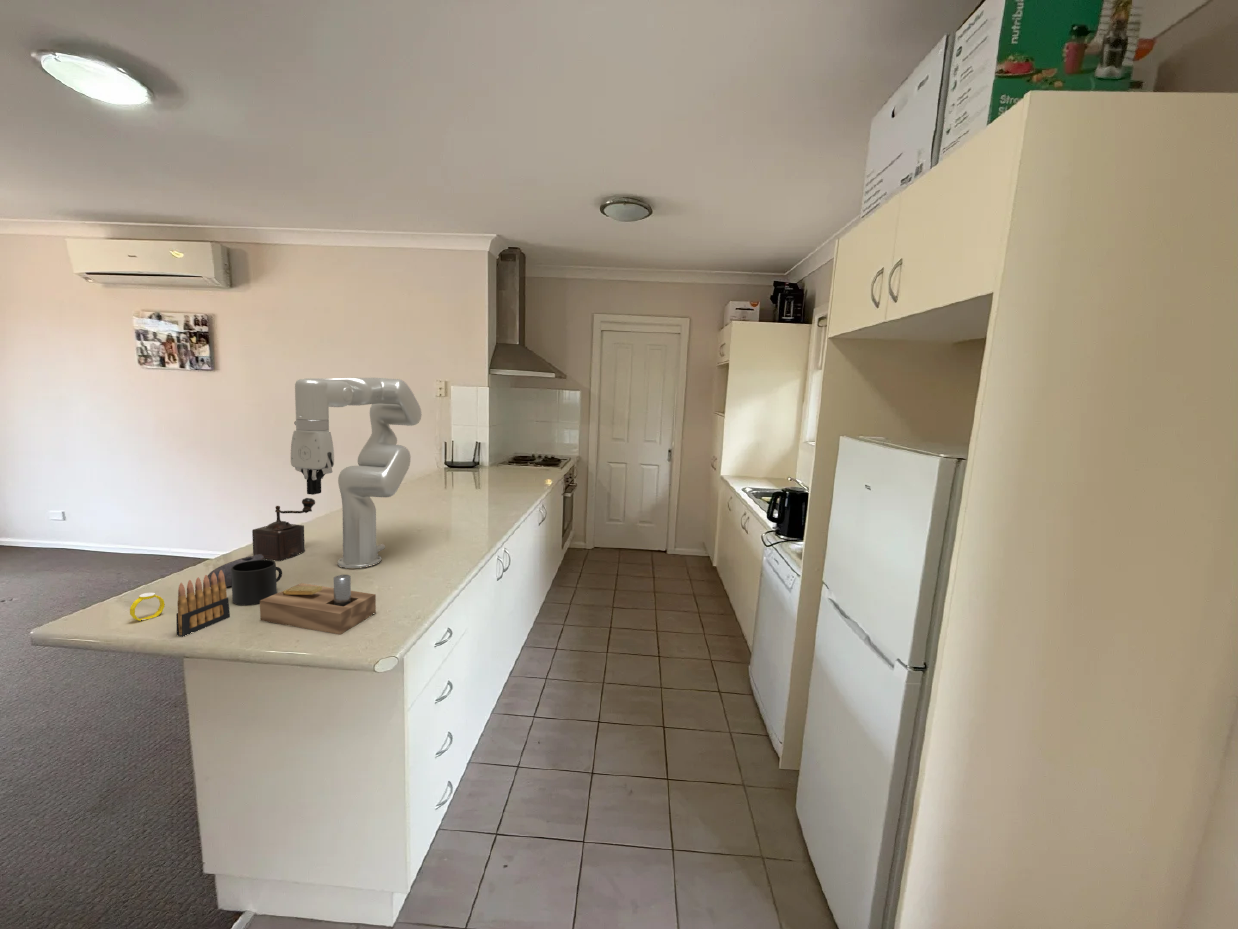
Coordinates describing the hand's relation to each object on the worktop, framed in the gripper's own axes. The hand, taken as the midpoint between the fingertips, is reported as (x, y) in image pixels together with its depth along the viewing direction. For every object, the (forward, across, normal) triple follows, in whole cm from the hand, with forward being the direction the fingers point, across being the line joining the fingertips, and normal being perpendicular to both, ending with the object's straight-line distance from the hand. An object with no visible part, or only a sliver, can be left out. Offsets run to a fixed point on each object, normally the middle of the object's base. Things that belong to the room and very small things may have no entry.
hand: (314, 493), depth 136 cm
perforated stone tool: (+27, -22, -4) cm, 35 cm away
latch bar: (+21, +9, -14) cm, 27 cm away
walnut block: (+27, +14, -14) cm, 34 cm away
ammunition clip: (+27, -6, -26) cm, 38 cm away
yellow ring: (+27, -21, -27) cm, 44 cm away
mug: (+27, -9, -9) cm, 30 cm away
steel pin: (+27, +20, -14) cm, 37 cm away
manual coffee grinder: (+27, -32, +22) cm, 48 cm away
